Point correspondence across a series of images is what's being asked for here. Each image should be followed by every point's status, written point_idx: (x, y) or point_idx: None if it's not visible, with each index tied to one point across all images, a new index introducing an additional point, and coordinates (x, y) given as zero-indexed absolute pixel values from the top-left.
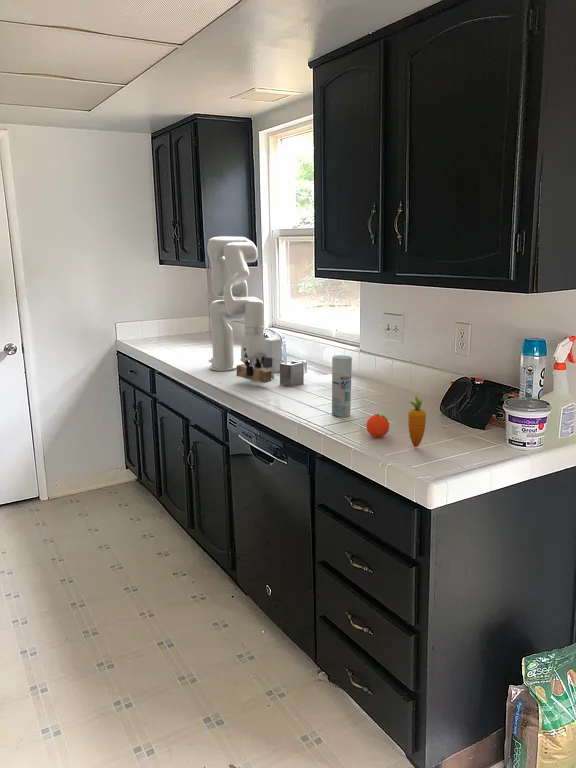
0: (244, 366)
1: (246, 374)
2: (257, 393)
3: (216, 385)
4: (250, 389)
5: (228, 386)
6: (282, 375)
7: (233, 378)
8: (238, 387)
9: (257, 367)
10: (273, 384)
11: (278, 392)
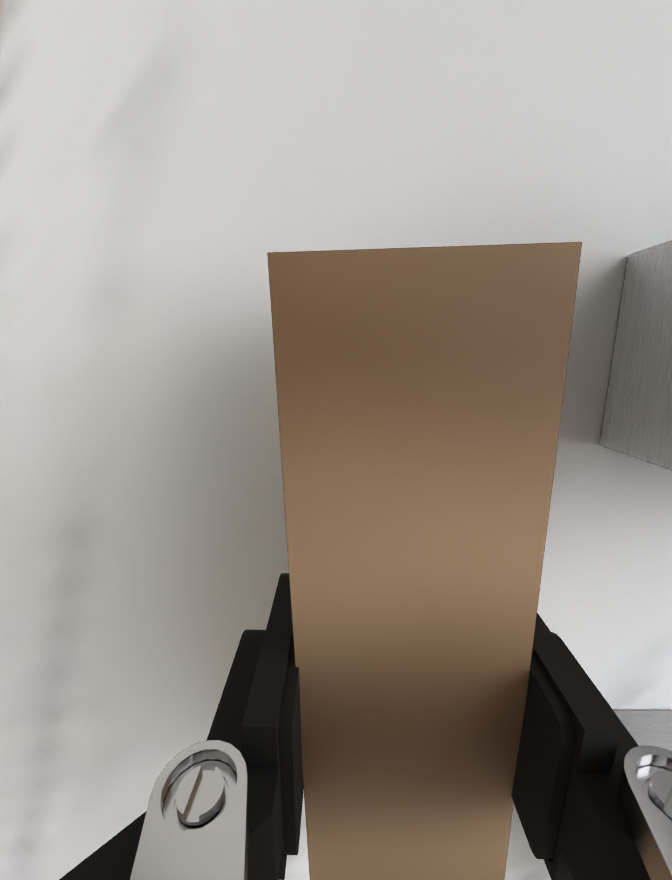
0: (360, 502)
1: (281, 573)
2: (149, 788)
3: (22, 206)
4: (206, 649)
5: (112, 375)
6: None
7: (504, 4)
8: (170, 499)
9: (502, 751)
10: None
11: (308, 871)
